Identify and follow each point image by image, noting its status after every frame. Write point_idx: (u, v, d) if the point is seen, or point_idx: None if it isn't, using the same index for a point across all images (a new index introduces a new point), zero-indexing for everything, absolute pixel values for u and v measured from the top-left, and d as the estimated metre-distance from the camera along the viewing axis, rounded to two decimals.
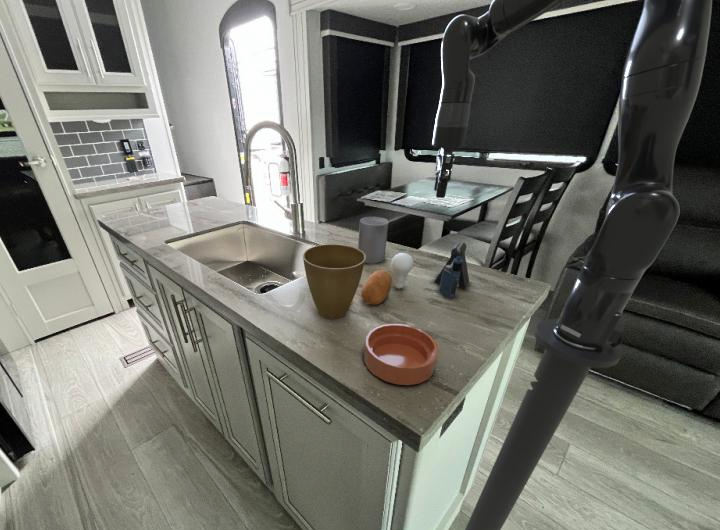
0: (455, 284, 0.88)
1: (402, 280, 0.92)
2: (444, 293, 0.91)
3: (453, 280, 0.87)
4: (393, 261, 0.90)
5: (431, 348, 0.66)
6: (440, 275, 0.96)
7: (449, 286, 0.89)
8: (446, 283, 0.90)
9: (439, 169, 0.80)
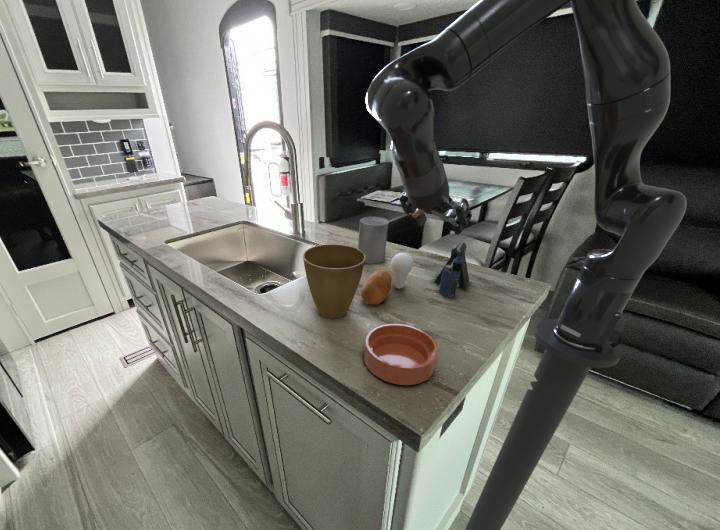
0: (455, 284, 0.88)
1: (402, 280, 0.92)
2: (444, 293, 0.91)
3: (453, 280, 0.87)
4: (393, 261, 0.90)
5: (431, 348, 0.66)
6: (440, 275, 0.96)
7: (449, 286, 0.89)
8: (446, 283, 0.90)
9: (449, 218, 0.65)
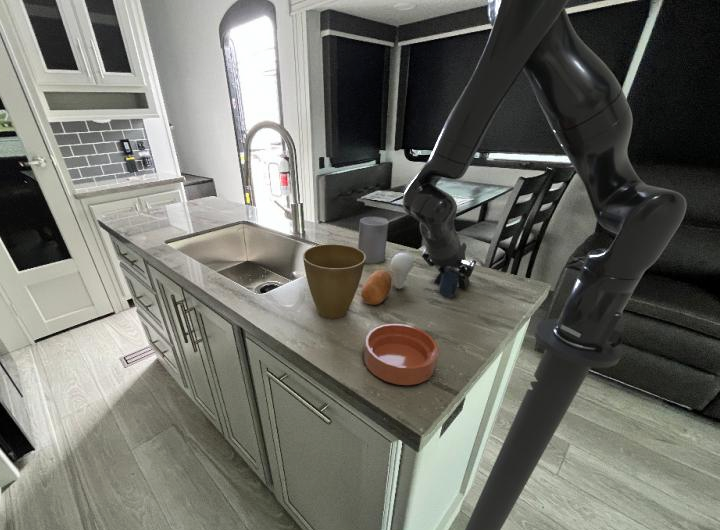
0: (455, 284, 0.88)
1: (402, 280, 0.92)
2: (444, 293, 0.91)
3: (453, 280, 0.87)
4: (393, 261, 0.90)
5: (431, 348, 0.66)
6: (440, 275, 0.96)
7: (449, 286, 0.89)
8: (446, 283, 0.90)
9: (458, 271, 0.83)
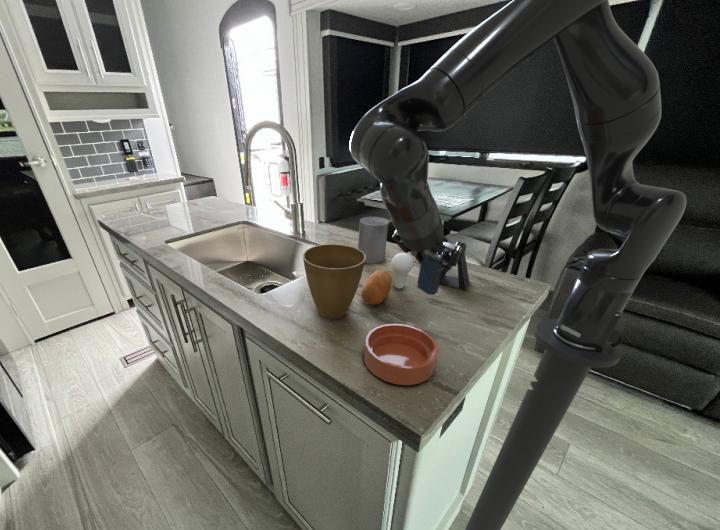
0: (437, 276, 0.67)
1: (402, 280, 0.92)
2: (423, 289, 0.69)
3: (434, 271, 0.65)
4: (393, 261, 0.90)
5: (431, 348, 0.66)
6: None
7: (429, 279, 0.67)
8: (425, 275, 0.68)
9: (440, 258, 0.61)
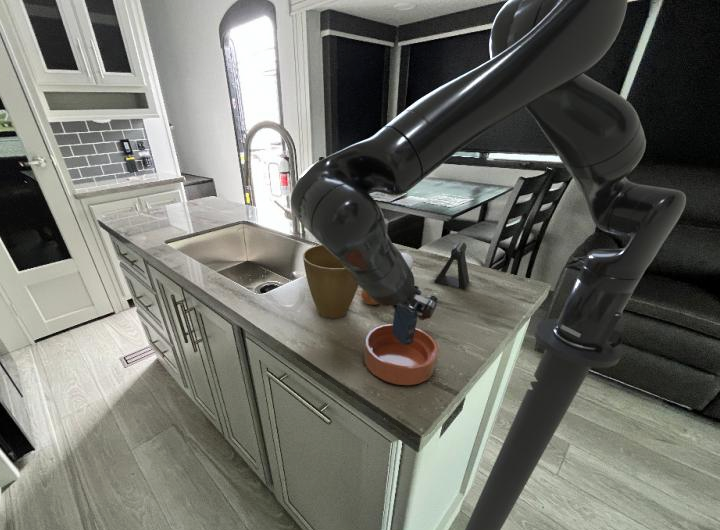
0: (412, 326, 0.60)
1: None
2: (398, 337, 0.63)
3: (408, 320, 0.59)
4: None
5: (431, 348, 0.66)
6: (440, 275, 0.96)
7: (403, 328, 0.60)
8: (399, 324, 0.61)
9: (413, 309, 0.55)
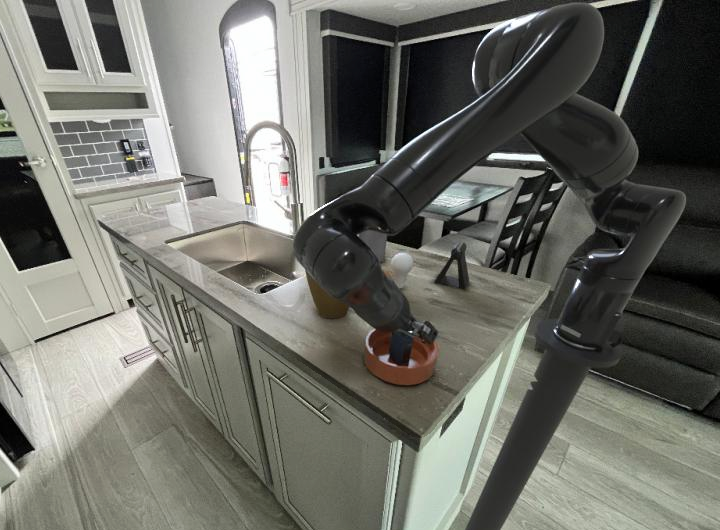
0: (408, 350, 0.63)
1: (402, 280, 0.92)
2: (394, 360, 0.66)
3: (404, 346, 0.62)
4: (393, 261, 0.90)
5: (431, 348, 0.66)
6: (440, 275, 0.96)
7: (400, 353, 0.63)
8: (395, 348, 0.64)
9: (412, 334, 0.56)
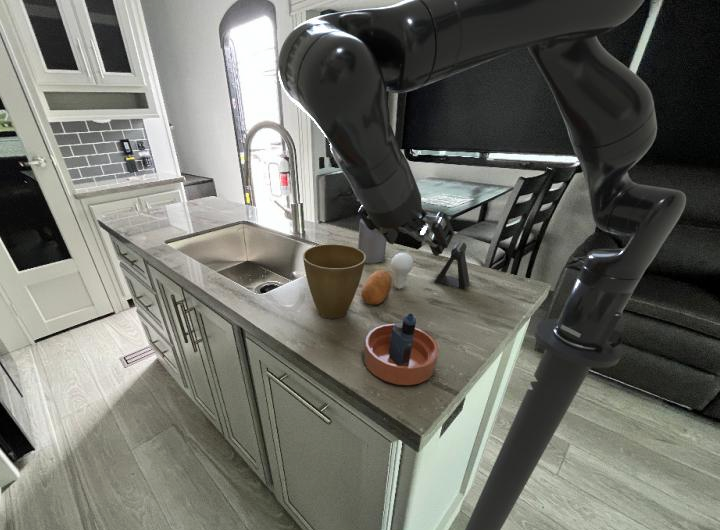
0: (408, 350, 0.63)
1: (402, 280, 0.92)
2: (394, 360, 0.66)
3: (404, 346, 0.62)
4: (393, 261, 0.90)
5: (431, 348, 0.66)
6: (440, 275, 0.96)
7: (400, 353, 0.63)
8: (395, 348, 0.64)
9: (423, 237, 0.48)
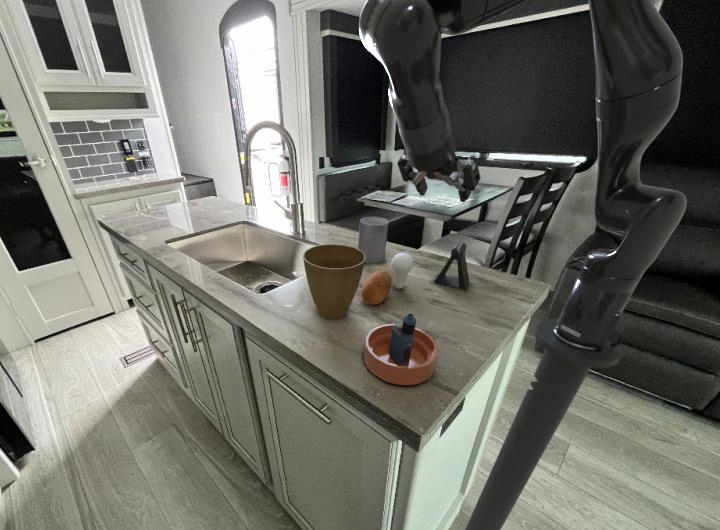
0: (408, 350, 0.63)
1: (402, 280, 0.92)
2: (394, 360, 0.66)
3: (404, 346, 0.62)
4: (393, 261, 0.90)
5: (431, 348, 0.66)
6: (440, 275, 0.96)
7: (400, 353, 0.63)
8: (395, 348, 0.64)
9: (454, 181, 0.57)
